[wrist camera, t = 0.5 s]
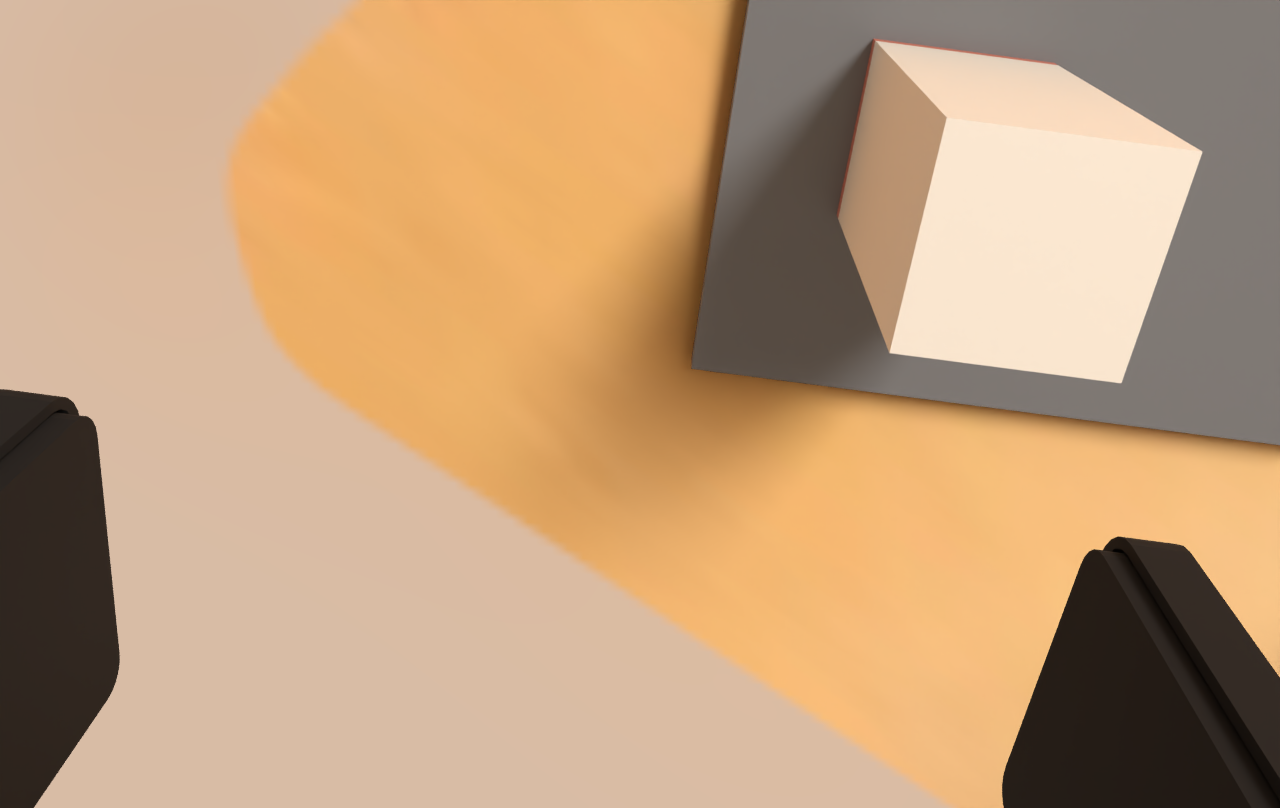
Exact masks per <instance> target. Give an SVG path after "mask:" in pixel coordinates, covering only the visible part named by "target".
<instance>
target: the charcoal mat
mask: <svg viewBox="0 0 1280 808" xmlns="http://www.w3.org/2000/svg"><path fill="white" fill-rule="evenodd" d="M873 39H880V40H888V41H895V42H903V43H910V44H918V45H925V46H933V47H940V48H947V49H955V50H962V51H970V52H977V53H985V54H992V55H999V56H1007V57H1014V58H1022V59H1029V60H1037V61H1044V62H1052V63H1055V64H1057V65H1059V66H1060V67H1062V68H1064V69H1065V70H1067V71H1069V72H1070V73H1072V74H1074V75H1075V76H1077V77H1079V78H1080V79H1082V80H1084V81H1085V82H1087V83H1089V84H1090V85H1092V86H1094V87H1095V88H1097V89H1099V90H1100V91H1102V92H1104V93H1105V94H1107V95H1109V96H1110V97H1112V98H1114V99H1115V100H1117V101H1119V102H1120V103H1122V104H1124V105H1125V106H1127V107H1129V108H1130V109H1132V110H1134V111H1135V112H1137V113H1139V114H1140V115H1142V116H1144V117H1145V118H1147V119H1149V120H1150V121H1152V122H1154V123H1155V124H1157V125H1159V126H1161V127H1162V128H1164V129H1166V130H1167V131H1169V132H1171V133H1172V134H1174V135H1176V136H1177V137H1179V138H1181V139H1182V140H1184V141H1186V142H1187V143H1189V144H1191V145H1192V146H1194V147H1196V148H1197V149H1199V150H1201V151H1202V155H1201V158H1200V161H1199V164H1198V166H1197V169H1196V172H1195V175H1194V178H1193V181H1192V184H1191V186H1190V189H1189V192H1188V195H1187V198H1186V201H1185V203H1184V206H1183V209H1182V212H1181V215H1180V218H1179V221H1178V223H1177V226H1176V229H1175V232H1174V235H1173V238H1172V240H1171V243H1170V246H1169V249H1168V252H1167V255H1166V258H1165V260H1164V263H1163V266H1162V269H1161V272H1160V275H1159V278H1158V280H1157V283H1156V286H1155V289H1154V292H1153V295H1152V297H1151V300H1150V303H1149V306H1148V309H1147V312H1146V315H1145V317H1144V320H1143V323H1142V326H1141V329H1140V332H1139V335H1138V337H1137V340H1136V343H1135V346H1134V349H1133V352H1132V354H1131V357H1130V360H1129V363H1128V366H1127V369H1126V372H1125V374H1124V377H1123V380H1122V383H1115V382H1107V381H1099V380H1092V379H1084V378H1077V377H1069V376H1061V375H1054V374H1046V373H1038V372H1031V371H1023V370H1015V369H1008V368H1000V367H992V366H985V365H977V364H969V363H962V362H954V361H946V360H939V359H931V358H923V357H916V356H908V355H900V354H893V353H889V351H888V348H887V345H886V343H885V340H884V338H883V335H882V332H881V330H880V327H879V324H878V322H877V319H876V317H875V314H874V311H873V309H872V306H871V304H870V301H869V298H868V296H867V293H866V291H865V288H864V285H863V283H862V280H861V277H860V275H859V272H858V270H857V267H856V264H855V262H854V259H853V257H852V254H851V251H850V249H849V246H848V243H847V241H846V238H845V236H844V233H843V230H842V228H841V225H840V223H839V220H838V217H837V211H838V206H839V201H840V196H841V191H842V186H843V182H844V177H845V172H846V167H847V162H848V158H849V153H850V148H851V143H852V138H853V133H854V129H855V124H856V119H857V114H858V109H859V105H860V100H861V95H862V90H863V85H864V80H865V76H866V71H867V66H868V61H869V56H870V52H871V47H872V42H873ZM691 369H698V370H705V371H713V372H721V373H728V374H736V375H744V376H751V377H759V378H767V379H774V380H782V381H790V382H798V383H805V384H813V385H821V386H828V387H836V388H844V389H851V390H859V391H867V392H874V393H882V394H890V395H898V396H905V397H913V398H921V399H928V400H936V401H944V402H951V403H959V404H967V405H974V406H982V407H990V408H998V409H1005V410H1013V411H1021V412H1028V413H1036V414H1044V415H1051V416H1059V417H1067V418H1074V419H1082V420H1090V421H1098V422H1105V423H1113V424H1121V425H1128V426H1136V427H1144V428H1151V429H1159V430H1167V431H1174V432H1182V433H1190V434H1198V435H1205V436H1213V437H1221V438H1228V439H1236V440H1244V441H1251V442H1259V443H1267V444H1274V445H1280V0H748V1H747V8H746V14H745V20H744V27H743V33H742V39H741V46H740V52H739V59H738V65H737V71H736V78H735V84H734V91H733V97H732V103H731V110H730V116H729V123H728V129H727V135H726V142H725V148H724V154H723V161H722V167H721V174H720V180H719V186H718V193H717V199H716V206H715V212H714V218H713V225H712V231H711V237H710V244H709V250H708V257H707V263H706V269H705V276H704V282H703V289H702V295H701V301H700V308H699V314H698V321H697V327H696V333H695V340H694V346H693V352H692V367H691Z"/></svg>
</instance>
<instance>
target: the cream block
mask: <svg viewBox="0 0 1280 808" xmlns="http://www.w3.org/2000/svg"><path fill="white" fill-rule="evenodd" d="M1201 155H1202V151H1201V150H1199V149H1197V148H1196V147H1194V146H1192V145H1191V144H1189V143H1187V142H1186V141H1184V140H1182V139H1181V138H1179V137H1177V136H1176V135H1174V134H1172V133H1171V132H1169V131H1167V130H1166V129H1164V128H1162V127H1161V126H1159V125H1157V124H1155V123H1154V122H1152V121H1150V120H1149V119H1147V118H1145V117H1144V116H1142V115H1140V114H1139V113H1137V112H1135V111H1134V110H1132V109H1130V108H1129V107H1127V106H1125V105H1124V104H1122V103H1120V102H1119V101H1117V100H1115V99H1114V98H1112V97H1110V96H1109V95H1107V94H1105V93H1104V92H1102V91H1100V90H1099V89H1097V88H1095V87H1094V86H1092V85H1090V84H1089V83H1087V82H1085V81H1084V80H1082V79H1080V78H1079V77H1077V76H1075V75H1074V74H1072V73H1070V72H1069V71H1067V70H1065V69H1064V68H1062V67H1060V66H1059V65H1057V64H1055V63H1052V62H1044V61H1037V60H1029V59H1022V58H1014V57H1007V56H999V55H992V54H985V53H977V52H970V51H962V50H955V49H947V48H940V47H933V46H925V45H918V44H910V43H903V42H895V41H888V40H880V39H873V42H872V47H871V52H870V56H869V61H868V66H867V71H866V76H865V80H864V85H863V90H862V95H861V100H860V105H859V109H858V114H857V119H856V124H855V129H854V133H853V138H852V143H851V148H850V153H849V158H848V162H847V167H846V172H845V177H844V182H843V186H842V191H841V196H840V201H839V206H838V211H837V217H838V220H839V223H840V225H841V228H842V230H843V233H844V236H845V238H846V241H847V243H848V246H849V249H850V251H851V254H852V257H853V259H854V262H855V264H856V267H857V270H858V272H859V275H860V277H861V280H862V283H863V285H864V288H865V291H866V293H867V296H868V298H869V301H870V304H871V306H872V309H873V311H874V314H875V317H876V319H877V322H878V324H879V327H880V330H881V332H882V335H883V338H884V340H885V343H886V345H887V348H888V351H889V353H893V354H900V355H908V356H916V357H923V358H931V359H939V360H946V361H954V362H962V363H969V364H977V365H985V366H992V367H1000V368H1008V369H1015V370H1023V371H1031V372H1038V373H1046V374H1054V375H1061V376H1069V377H1077V378H1084V379H1092V380H1099V381H1107V382H1115V383H1122V380H1123V377H1124V374H1125V372H1126V369H1127V366H1128V363H1129V360H1130V357H1131V354H1132V352H1133V349H1134V346H1135V343H1136V340H1137V337H1138V335H1139V332H1140V329H1141V326H1142V323H1143V320H1144V317H1145V315H1146V312H1147V309H1148V306H1149V303H1150V300H1151V297H1152V295H1153V292H1154V289H1155V286H1156V283H1157V280H1158V278H1159V275H1160V272H1161V269H1162V266H1163V263H1164V260H1165V258H1166V255H1167V252H1168V249H1169V246H1170V243H1171V240H1172V238H1173V235H1174V232H1175V229H1176V226H1177V223H1178V221H1179V218H1180V215H1181V212H1182V209H1183V206H1184V203H1185V201H1186V198H1187V195H1188V192H1189V189H1190V186H1191V184H1192V181H1193V178H1194V175H1195V172H1196V169H1197V166H1198V164H1199V161H1200V158H1201Z"/></svg>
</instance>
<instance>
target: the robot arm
mask: <svg viewBox="0 0 1280 808" xmlns="http://www.w3.org/2000/svg"><path fill="white" fill-rule="evenodd" d="M119 660H120V659H119V644H118V634H117V625H116V615H115V605H114V595H113V585H112V575H111V565H110V556H109V546H108V536H107V526H106V517H105V506H104V497H103V487H102V477H101V468H100V457H99V447H98V438H97V432H96V427H95V425H94V423H93V421H92V420H91V419H90V418H89V417H86V416H79V413H78V410H77V408H76V406H75V404H74V403H73V402H72V401H71V400H69V399H68V398H66V397H59V396H51V395H44V394H36V393H28V392H20V391H12V390H4V389H3V390H1V389H0V808H34V807H35V805H36V803H37V802H38V801H39V799H40V798H41V796H42V795H43V793H44V792H45V790H46V789H47V787H48V786H49V785H50V783H51V781H52V780H53V779H54V777H55V776H56V774H57V773H58V771H59V770H60V768H61V767H62V765H63V764H64V763H65V761H66V760H67V758H68V757H69V755H70V754H71V752H72V751H73V749H74V748H75V746H76V745H77V743H78V742H79V741H80V739H81V738H82V736H83V735H84V733H85V732H86V730H87V729H88V727H89V726H90V724H91V723H92V722H93V720H94V719H95V717H96V716H97V714H98V713H99V711H100V710H101V708H102V707H103V705H104V704H105V703H106V701H107V700H108V698H109V696H110V694H111V692H112V690H113V688H114V685H115V682H116V679H117V675H118V670H119ZM1002 797H1003V806H1004V808H1280V677H1279V676H1278V675H1277V673H1276V672H1275V670H1274V669H1273V668H1272V666H1271V665H1270V663H1269V662H1268V661H1267V659H1266V658H1265V656H1264V655H1263V654H1262V652H1261V651H1260V649H1259V648H1258V647H1257V645H1256V644H1255V642H1254V641H1253V640H1252V638H1251V637H1250V635H1249V634H1248V633H1247V631H1246V630H1245V628H1244V627H1243V626H1242V624H1241V623H1240V621H1239V620H1238V618H1237V617H1236V616H1235V614H1234V613H1233V611H1232V610H1231V609H1230V607H1229V606H1228V604H1227V603H1226V602H1225V600H1224V599H1223V597H1222V596H1221V595H1220V593H1219V592H1218V590H1217V589H1216V588H1215V586H1214V585H1213V583H1212V582H1211V581H1210V579H1209V578H1208V576H1207V575H1206V574H1205V572H1204V571H1203V569H1202V568H1201V567H1200V565H1199V564H1198V562H1197V561H1196V560H1195V558H1194V557H1193V555H1192V554H1191V553H1190V552H1189V551H1188V550H1187V549H1186V548H1185V547H1184V546H1181V545H1177V544H1171V543H1163V542H1156V541H1148V540H1140V539H1133V538H1125V537H1116V538H1114V539H1111V540H1110V541H1109V543H1108V544H1107V545H1106V546H1105V547H1104V549H1103V551H1102V550H1095V549H1094V550H1092V551H1089V552H1088V554H1087V555H1086V556H1085V557H1084V559H1083V561H1082V563H1081V566H1080V568H1079V571H1078V574H1077V576H1076V579H1075V582H1074V585H1073V587H1072V590H1071V593H1070V595H1069V598H1068V601H1067V603H1066V606H1065V609H1064V611H1063V614H1062V617H1061V619H1060V622H1059V625H1058V628H1057V630H1056V633H1055V636H1054V638H1053V641H1052V644H1051V646H1050V649H1049V652H1048V654H1047V657H1046V660H1045V663H1044V665H1043V668H1042V671H1041V673H1040V676H1039V679H1038V681H1037V684H1036V687H1035V689H1034V692H1033V695H1032V698H1031V700H1030V703H1029V706H1028V708H1027V711H1026V714H1025V716H1024V719H1023V722H1022V724H1021V727H1020V730H1019V732H1018V735H1017V738H1016V741H1015V743H1014V746H1013V749H1012V751H1011V754H1010V757H1009V759H1008V762H1007V765H1006V768H1005V772H1004V776H1003V784H1002Z"/></svg>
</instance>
